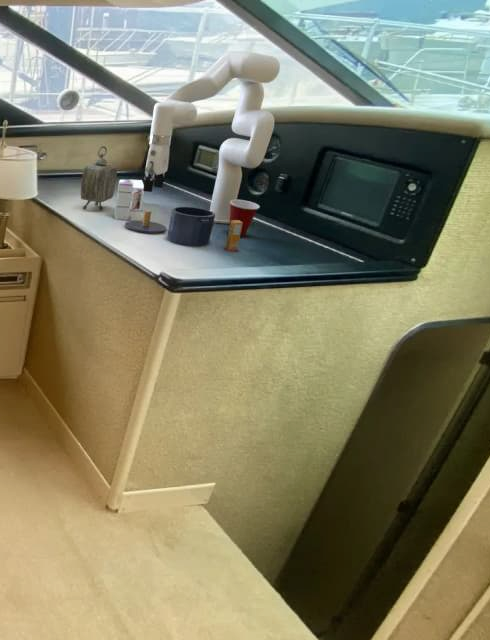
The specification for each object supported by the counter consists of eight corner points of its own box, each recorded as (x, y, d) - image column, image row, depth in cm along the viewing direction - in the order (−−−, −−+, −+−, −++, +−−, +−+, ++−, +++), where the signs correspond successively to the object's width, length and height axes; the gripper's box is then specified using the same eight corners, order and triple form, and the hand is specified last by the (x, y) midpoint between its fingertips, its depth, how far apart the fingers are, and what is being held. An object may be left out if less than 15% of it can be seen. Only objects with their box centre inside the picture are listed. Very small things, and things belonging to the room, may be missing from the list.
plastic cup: (238, 239, 222) (246, 207, 216) (216, 232, 230) (223, 200, 224) (258, 237, 226) (266, 205, 221) (236, 230, 235) (244, 198, 229)
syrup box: (128, 220, 240) (134, 182, 233) (113, 218, 240) (118, 181, 234) (128, 217, 245) (134, 180, 238) (114, 215, 245) (119, 178, 238)
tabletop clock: (94, 204, 262) (102, 143, 250) (113, 208, 257) (121, 146, 245) (78, 209, 251) (85, 146, 239) (97, 213, 247) (105, 149, 235)
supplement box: (223, 248, 211) (230, 219, 206) (233, 248, 211) (240, 220, 207) (227, 251, 208) (234, 222, 203) (237, 251, 208) (244, 222, 204)
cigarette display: (126, 200, 272) (129, 179, 267) (138, 201, 271) (141, 180, 267) (128, 210, 254) (131, 188, 250) (141, 211, 254) (145, 189, 249)
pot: (194, 233, 227) (200, 205, 222) (219, 248, 210) (226, 218, 205) (158, 232, 225) (163, 204, 220) (180, 248, 207) (186, 218, 202)
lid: (156, 223, 237) (159, 206, 234) (172, 234, 224) (175, 216, 221) (119, 223, 235) (121, 206, 232) (133, 234, 221) (135, 216, 218)
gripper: (160, 144, 206) (153, 194, 215) (179, 139, 219) (171, 187, 227) (140, 141, 210) (133, 191, 218) (159, 136, 222) (152, 184, 231)
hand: (152, 189), depth 223 cm, fingers open, 9 cm apart
